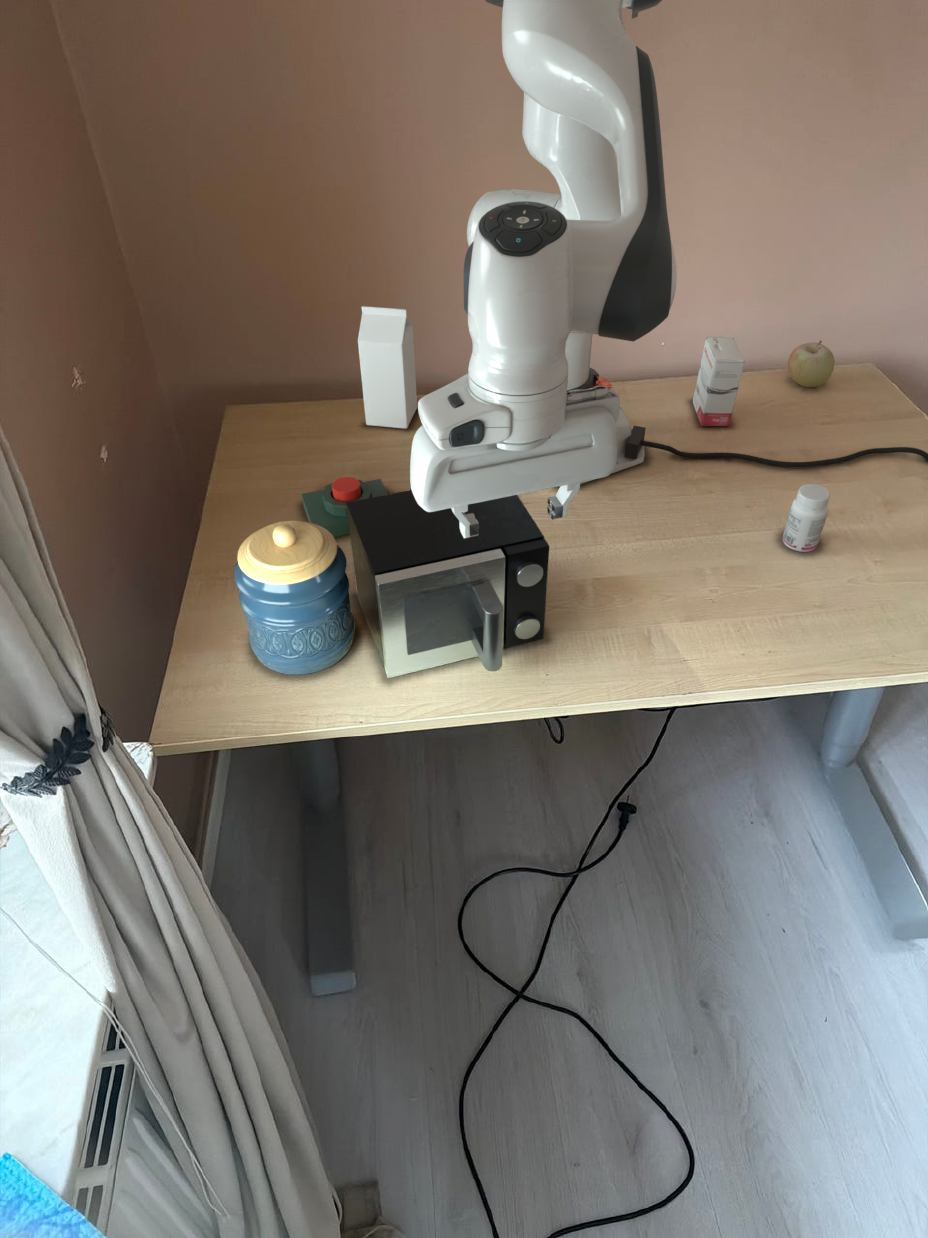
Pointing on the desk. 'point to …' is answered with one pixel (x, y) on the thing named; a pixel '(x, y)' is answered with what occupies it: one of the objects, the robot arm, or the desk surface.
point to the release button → (346, 489)
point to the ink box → (718, 381)
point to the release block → (336, 506)
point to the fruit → (811, 364)
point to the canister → (295, 597)
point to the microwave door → (443, 613)
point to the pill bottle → (807, 518)
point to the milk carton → (387, 367)
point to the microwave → (451, 553)
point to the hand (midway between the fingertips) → (513, 524)
